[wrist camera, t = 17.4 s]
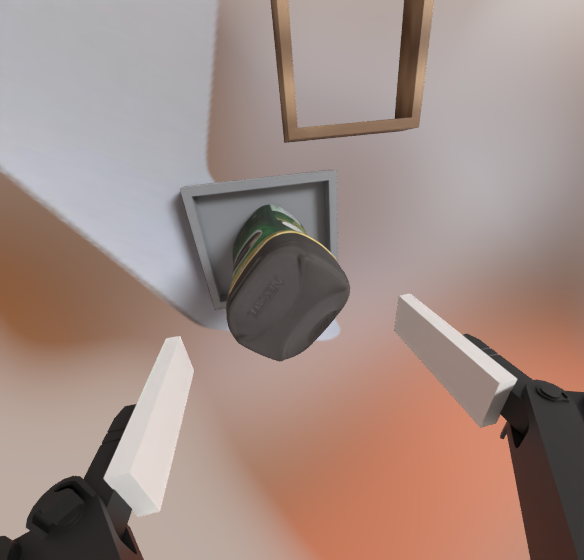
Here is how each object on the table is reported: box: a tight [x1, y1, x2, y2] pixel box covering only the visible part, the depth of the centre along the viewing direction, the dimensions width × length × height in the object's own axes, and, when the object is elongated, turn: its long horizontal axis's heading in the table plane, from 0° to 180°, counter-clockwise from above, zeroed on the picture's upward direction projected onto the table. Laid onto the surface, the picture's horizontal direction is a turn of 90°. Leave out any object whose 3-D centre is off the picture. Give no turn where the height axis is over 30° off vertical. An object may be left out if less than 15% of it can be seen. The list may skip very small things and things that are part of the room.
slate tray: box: [180, 170, 338, 310], centre depth 32 cm, size 16×18×3 cm
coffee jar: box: [226, 204, 350, 361], centre depth 24 cm, size 10×8×19 cm
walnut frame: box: [271, 0, 434, 142], centre depth 24 cm, size 15×15×4 cm
